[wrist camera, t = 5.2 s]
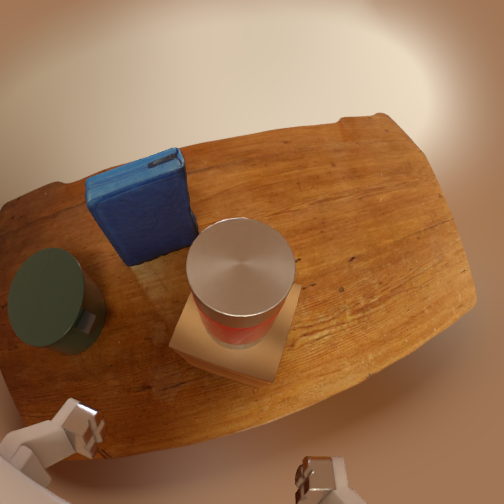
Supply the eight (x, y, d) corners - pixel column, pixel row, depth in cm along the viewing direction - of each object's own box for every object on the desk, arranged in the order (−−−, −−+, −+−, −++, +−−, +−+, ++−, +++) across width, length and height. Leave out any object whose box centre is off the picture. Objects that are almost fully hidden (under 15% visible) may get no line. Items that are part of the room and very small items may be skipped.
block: (256, 388, 39) (273, 383, 23) (193, 366, 40) (167, 346, 24) (276, 328, 44) (302, 285, 28) (215, 308, 45) (206, 254, 29)
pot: (94, 379, 37) (65, 373, 29) (21, 328, 39) (-10, 312, 31) (131, 294, 45) (111, 271, 36) (55, 258, 47) (31, 233, 38)
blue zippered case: (195, 223, 52) (181, 138, 35) (204, 246, 50) (192, 163, 32) (122, 249, 49) (79, 173, 31) (128, 273, 46) (80, 202, 29)
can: (260, 359, 24) (279, 333, 15) (192, 336, 25) (166, 294, 15) (280, 295, 27) (307, 234, 18) (216, 275, 28) (210, 205, 18)
